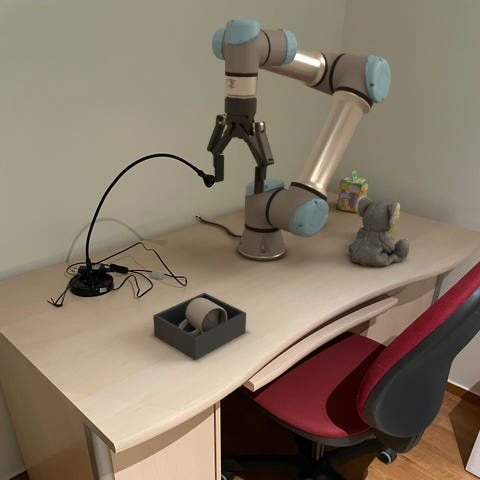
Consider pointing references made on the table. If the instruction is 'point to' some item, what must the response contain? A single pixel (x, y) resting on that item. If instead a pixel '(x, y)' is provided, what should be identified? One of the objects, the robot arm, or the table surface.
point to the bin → (202, 343)
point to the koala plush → (377, 234)
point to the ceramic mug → (203, 316)
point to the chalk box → (351, 192)
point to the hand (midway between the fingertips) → (238, 187)
